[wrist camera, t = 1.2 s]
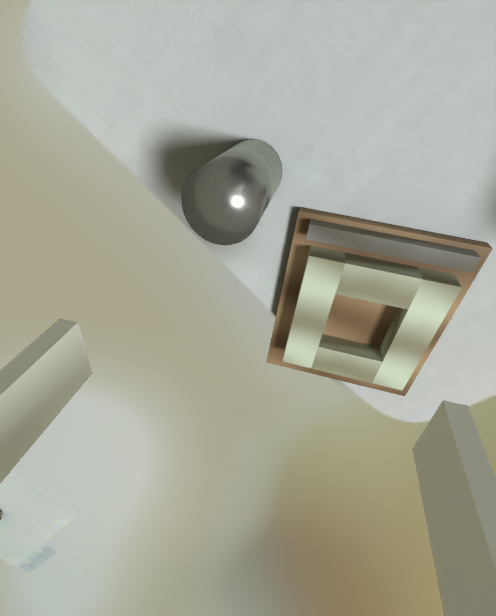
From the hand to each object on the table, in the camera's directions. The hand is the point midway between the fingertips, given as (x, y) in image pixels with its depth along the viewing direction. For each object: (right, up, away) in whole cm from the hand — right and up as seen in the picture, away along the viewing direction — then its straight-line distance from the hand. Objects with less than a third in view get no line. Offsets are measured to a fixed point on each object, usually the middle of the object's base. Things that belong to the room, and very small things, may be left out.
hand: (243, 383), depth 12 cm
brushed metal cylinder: (+1, +13, +13) cm, 19 cm away
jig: (+10, +3, +18) cm, 20 cm away
